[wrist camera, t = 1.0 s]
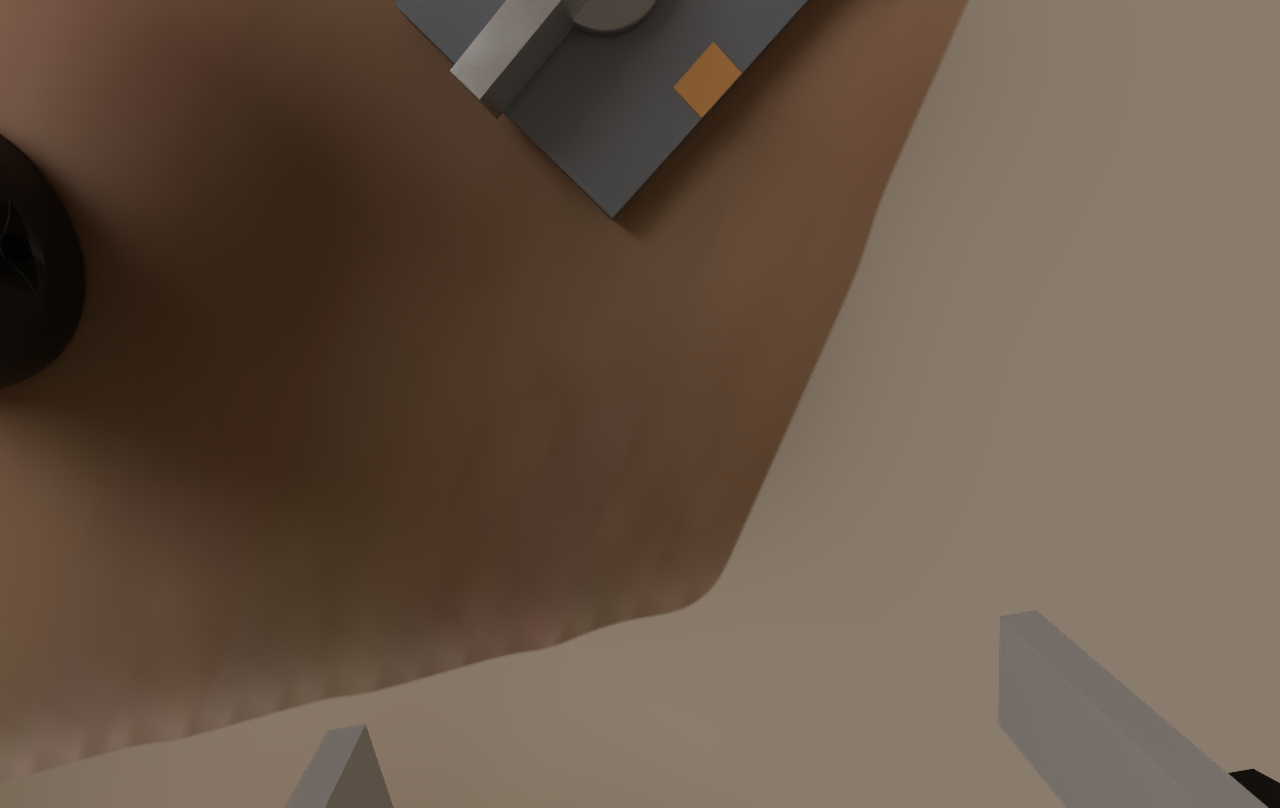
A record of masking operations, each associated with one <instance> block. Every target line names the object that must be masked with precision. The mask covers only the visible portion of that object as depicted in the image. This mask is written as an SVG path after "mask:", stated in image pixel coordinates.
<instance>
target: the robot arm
mask: <svg viewBox="0 0 1280 808" xmlns="http://www.w3.org/2000/svg"><path fill="white" fill-rule="evenodd" d="M83 296H84V272H83V263H82V258H81V252H80V249H79V245H78V241H77V238H76V235H75V232H74V229H73V227H72V225H71V222H70V220H69V218H68V216H67V214H66V212H65V210H64V208H63V206H62V204H61V203H60V201H59V199H58V197H57V196H56V194H55V193H54V191H53V190H52V188H51V187H50V186H49V184H48V183H47V181H46V180H45V179H44V178H43V176H42V175H41V174H40V173H39V172H38V170H37V169H36V168H35V167H34V166H33V165H32V164H31V163H30V162H29V161H28V160H27V158H25V157H24V156H23V155H22V154H21V153H20V152H19V151H18V150H17V149H16V148H15V147H13V146H12V145H11V144H10V143H9V142H7V141H6V140H5V139H3V138H2V137H1V136H0V387H4V386H8V385H12V384H14V383H17V382H20V381H22V380H24V379H27V378H29V377H31V376H32V375H34V374H36V373H37V372H39V371H40V370H42V369H43V368H45V367H46V366H47V365H48V364H49V363H51V362H52V361H53V360H54V359H55V358H56V357H57V356H58V355H59V353H60V352H61V351H62V350H63V349H64V347H65V346H66V344H67V343H68V341H69V339H70V338H71V336H72V334H73V332H74V330H75V327H76V325H77V322H78V319H79V316H80V312H81V308H82V303H83ZM998 725H999V726H1000V727H1001V728H1002V730H1003V731H1004V732H1005V733H1006V735H1007V736H1008V737H1009V738H1010V739H1011V741H1012V742H1013V743H1014V744H1015V745H1016V747H1017V748H1018V749H1019V750H1020V752H1021V753H1022V754H1023V755H1024V757H1025V758H1026V759H1027V760H1028V761H1029V763H1030V764H1031V765H1032V766H1033V768H1034V769H1035V770H1036V771H1037V772H1038V774H1039V775H1040V776H1041V777H1042V779H1043V780H1044V781H1045V782H1046V783H1047V785H1048V786H1049V787H1050V788H1051V790H1052V791H1053V792H1054V793H1055V794H1056V796H1057V797H1058V798H1059V799H1060V801H1061V802H1062V803H1063V804H1064V805H1065V806H1066V808H1280V783H1278V782H1277V781H1275V780H1273V779H1271V778H1269V777H1267V776H1265V775H1264V774H1262V773H1260V772H1258V771H1256V770H1255V769H1249V770H1243V771H1237V772H1232V773H1227V772H1226V771H1225V770H1223V769H1222V768H1221V767H1220V766H1219V765H1217V764H1216V763H1215V762H1214V761H1213V760H1211V759H1210V758H1209V757H1208V756H1207V755H1206V754H1205V753H1203V752H1202V751H1201V750H1200V749H1199V748H1198V747H1196V746H1195V745H1194V744H1193V743H1192V742H1190V741H1189V740H1188V739H1187V738H1186V737H1185V736H1183V735H1182V734H1181V733H1180V732H1179V731H1178V730H1176V729H1175V728H1174V727H1173V726H1172V725H1170V724H1169V723H1168V722H1167V721H1166V720H1165V719H1163V718H1162V717H1161V716H1160V715H1159V714H1157V713H1156V712H1155V711H1154V710H1153V709H1152V708H1150V707H1149V706H1148V705H1147V704H1146V703H1145V702H1143V701H1142V700H1141V699H1140V698H1139V697H1137V696H1136V695H1135V694H1134V693H1133V692H1132V691H1130V690H1129V689H1128V688H1127V687H1126V686H1125V685H1123V684H1122V683H1121V682H1120V681H1119V680H1118V679H1116V678H1115V677H1114V676H1113V675H1111V674H1110V673H1109V672H1108V671H1107V670H1106V669H1105V668H1103V667H1102V666H1101V665H1100V664H1099V663H1098V662H1096V661H1095V660H1094V659H1093V658H1091V657H1090V656H1089V655H1088V654H1087V653H1085V651H1083V650H1082V649H1081V648H1080V647H1079V646H1077V645H1076V644H1075V643H1074V642H1073V641H1072V640H1070V639H1069V638H1068V637H1067V636H1066V635H1065V634H1063V633H1062V632H1061V631H1060V630H1059V629H1058V628H1056V627H1055V626H1054V625H1053V624H1052V623H1050V622H1049V621H1048V620H1047V619H1046V618H1045V617H1043V616H1042V615H1041V614H1040V613H1039V612H1037V611H1030V612H1025V613H1019V614H1013V615H1007V616H1002V617H1000V659H999V724H998ZM285 808H393V805H392V802H391V799H390V796H389V793H388V790H387V787H386V784H385V781H384V778H383V775H382V772H381V769H380V766H379V763H378V761H377V758H376V754H375V751H374V748H373V745H372V742H371V740H370V736H369V733H368V730H367V727H366V725H360V726H354V727H348V728H342V729H336V730H330V731H327V733H326V735H325V737H324V739H323V740H322V742H321V744H320V746H319V747H318V749H317V751H316V753H315V755H314V756H313V758H312V760H311V762H310V763H309V765H308V767H307V769H306V771H305V772H304V774H303V776H302V778H301V779H300V782H299V783H298V785H297V787H296V788H295V790H294V792H293V794H292V796H291V797H290V799H289V801H288V803H287V804H286V806H285Z"/></svg>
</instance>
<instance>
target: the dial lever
mask: <svg viewBox="0 0 1280 808" xmlns="http://www.w3.org/2000/svg"><path fill="white" fill-rule="evenodd" d="M658 2H659V0H506V1H505V2H504V4H503V5H502V6H501V7H500V9H499V10H498V11H497V12H496V14H495V15H494V16H493V17H492V19H491V20H490V21H489V22H488V24H487V25H486V26H485V27H484V29H483V30H482V31H481V32H480V34H479V35H478V36H477V37H476V39H475V40H474V41H473V42H472V44H471V45H470V46H469V47H468V49H467V50H466V51H465V52H464V53H463V55H462V56H461V57H460V58H459V60H458V61H457V62H456V63H455V65H454V66H453V67H452V68H451V70H450V71H451V72H452V74H453V75H454V76H455V77H456V78H457V79H458V80H459V81H460V82H461V83H462V84H463V86H464V87H465V88H466V89H467V90H468V91H469V92H470V93H471V94H472V95H473V96H474V97H475V98H476V99H477V100H478V101H479V102H480V103H481V104H482V105H483V106H484V107H485V108H486V109H487V110H488V111H489V112H490V113H491V114H492V115H493V116H494V117H495V118H496V119H498V118H499V116H500V115H501V114H502V113H503V112H504V110H505V109H506V108H507V107H508V105H509V104H510V103H511V102H512V101H513V99H514V98H515V97H516V96H517V95H518V93H519V92H520V91H521V90H522V89H523V87H524V86H525V85H526V84H527V83H528V81H529V80H530V79H531V78H532V77H533V75H534V74H535V73H536V72H537V71H538V69H539V68H540V67H541V66H542V64H543V63H544V62H545V61H546V60H547V58H548V57H549V56H550V55H551V54H552V52H553V51H554V50H555V49H556V48H557V46H558V45H559V44H560V43H561V42H562V40H563V39H564V38H565V37H566V36H567V34H568V33H569V32H570V31H571V30H572V28H574V29H576V30H578V31H579V32H581V33H584V34H587V35H590V36H595V37H615V36H619V35H622V34H625V33H627V32H630V31H631V30H633V29H635V28H637V27H638V26H639V25H640V24H642V23H643V22H644V21H645V20H646V19H647V18H648V17H649V16H650V14H651V13H652V12H653V10H654V9H655V7H656V5H657V3H658Z"/></svg>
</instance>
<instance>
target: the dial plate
mask: <svg viewBox="0 0 1280 808" xmlns="http://www.w3.org/2000/svg"><path fill="white" fill-rule="evenodd" d="M505 1H506V0H397V2H396V3H395V4H394V5H395V6H396V7H397V8H398V9H399V10H400V11H401V13H402V14H403V15H404V16H405V17H406V18H407V19H408V20H409V21H410V22H411V23H412V24H413V25H414V26H415V27H416V28H417V29H418V30H419V31H420V32H421V33H422V34H423V35H424V36H425V37H426V38H427V39H428V40H429V41H430V42H431V43H432V44H433V45H434V46H435V47H436V48H437V49H438V50H439V51H440V52H441V53H442V54H443V55H444V56H445V57H446V58H448V59H449V60H450V61H451V62H452V63H453V64H454V65H455V63H456V62H457V61H458V60H459V58H460V57H461V56H462V55H463V53H464V52H465V51H466V50H467V49H468V47H469V46H470V45H471V44H472V42H473V41H474V40H475V39H476V37H477V36H478V35H479V34H480V32H481V31H482V30H483V29H484V27H485V26H486V25H487V24H488V22H489V21H490V20H491V19H492V17H493V16H494V15H495V14H496V12H497V11H498V10H499V9H500V7H501V6H502V5H503V4H504V2H505ZM808 1H809V0H659V2H658V3H657V5H656V7H655V9H654V10H653V12H652V13H651V14H650V16H649V17H648V18H647V19H646V20H645V21H644V22H643V23H642V24H640V25H639V26H638V27H637V28H635V29H633V30H631V31H630V32H627V33H625V34H622V35H619V36H615V37H595V36H590V35H587V34H584V33H581V32H579V31H578V30H576V29H574V28H572V30H571V31H570V32H569V33H568V34H567V36H566V37H565V38H564V39H563V40H562V42H561V43H560V44H559V45H558V46H557V48H556V49H555V50H554V51H553V52H552V54H551V55H550V56H549V57H548V58H547V60H546V61H545V62H544V63H543V64H542V66H541V67H540V68H539V69H538V71H537V72H536V73H535V74H534V75H533V77H532V78H531V79H530V80H529V81H528V83H527V84H526V85H525V86H524V87H523V89H522V90H521V91H520V92H519V93H518V95H517V96H516V97H515V98H514V99H513V101H512V102H511V103H510V104H509V105H508V107H507V108H506V109H505V110H504V112H503V113H504V114H505V115H506V116H507V117H508V118H509V119H510V120H511V121H512V122H513V123H514V124H515V125H516V126H517V127H518V128H519V129H520V130H521V131H522V132H523V133H524V134H525V135H526V136H527V137H528V138H529V139H530V140H531V141H532V142H533V143H534V144H535V145H536V146H537V147H538V148H539V149H540V150H541V151H543V152H544V153H545V154H546V155H547V156H548V157H549V158H550V159H551V160H552V161H553V162H554V163H555V164H556V165H557V166H558V167H559V168H560V169H561V170H562V171H563V172H564V173H565V174H566V175H567V176H568V177H569V178H570V179H571V180H572V181H573V182H574V183H575V184H576V185H577V186H578V187H579V188H580V189H581V190H582V191H583V192H584V193H585V194H586V195H587V196H588V197H589V198H591V199H592V200H593V201H594V202H595V203H596V204H597V205H598V206H599V207H600V208H601V209H602V210H603V211H604V212H605V213H606V214H607V215H608V216H609V217H610V218H611V219H612V220H613V218H614V217H615V216H616V215H617V214H618V213H619V212H620V211H621V210H622V208H623V207H624V206H625V205H626V204H627V203H628V202H629V201H630V200H631V198H632V197H633V196H634V195H635V194H636V193H637V192H638V191H639V189H640V188H641V187H642V186H643V185H644V184H645V183H646V182H647V181H648V179H649V178H650V177H651V176H652V175H653V174H654V173H655V172H656V171H657V169H658V168H659V167H660V166H661V165H662V164H663V163H664V162H665V160H666V159H667V158H668V157H669V156H670V155H671V154H672V153H673V152H674V150H675V149H676V148H677V147H678V146H679V145H680V144H681V143H682V141H683V140H684V139H685V138H686V137H687V136H688V135H689V134H690V133H691V131H692V130H693V129H694V128H695V127H696V126H697V125H698V124H699V123H700V121H701V120H702V119H703V118H704V117H705V116H706V115H707V114H708V112H709V111H710V110H711V109H712V108H713V107H714V106H715V105H716V104H717V102H718V101H719V100H720V99H721V98H722V97H723V96H724V95H725V94H726V92H727V91H728V90H729V89H730V88H731V87H732V86H733V85H734V83H735V82H736V81H737V80H738V79H739V78H740V77H741V76H742V75H743V73H744V72H745V71H746V70H747V69H748V68H749V67H750V66H751V65H752V63H753V62H754V61H755V60H756V59H757V58H758V57H759V56H760V54H761V53H762V52H763V51H764V50H765V49H766V48H767V47H768V46H769V44H770V43H771V42H772V41H773V40H774V39H775V38H776V37H777V36H778V34H779V33H780V32H781V31H782V30H783V29H784V28H785V27H786V25H787V24H788V23H789V22H790V21H791V20H792V19H793V18H794V17H795V15H796V14H797V13H798V12H799V11H800V10H801V9H802V8H803V7H804V5H805V4H806V3H807V2H808Z"/></svg>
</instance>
